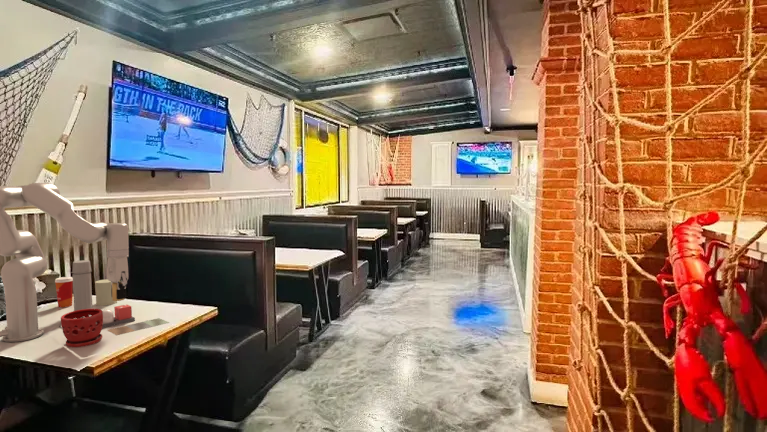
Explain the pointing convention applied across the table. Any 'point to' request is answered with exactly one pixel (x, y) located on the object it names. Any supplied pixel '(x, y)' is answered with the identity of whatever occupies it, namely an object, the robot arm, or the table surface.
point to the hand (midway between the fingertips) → (118, 297)
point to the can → (103, 293)
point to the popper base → (116, 322)
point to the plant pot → (82, 327)
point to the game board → (137, 326)
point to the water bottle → (82, 285)
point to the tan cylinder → (114, 288)
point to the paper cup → (64, 291)
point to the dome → (107, 316)
